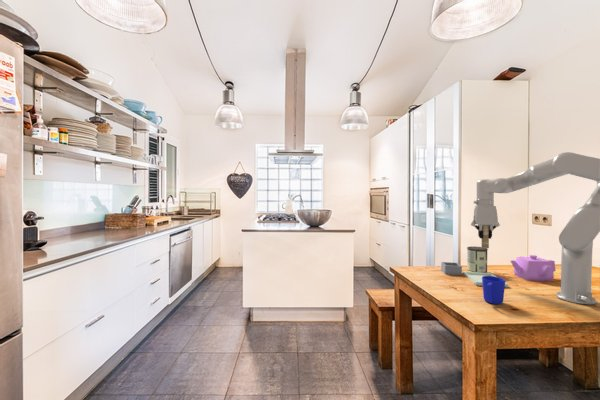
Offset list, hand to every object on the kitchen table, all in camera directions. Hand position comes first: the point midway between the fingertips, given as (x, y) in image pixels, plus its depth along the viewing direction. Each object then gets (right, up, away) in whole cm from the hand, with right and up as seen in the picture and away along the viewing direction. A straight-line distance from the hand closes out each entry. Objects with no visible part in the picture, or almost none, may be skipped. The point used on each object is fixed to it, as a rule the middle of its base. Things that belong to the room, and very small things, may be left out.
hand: (485, 237), depth 150 cm
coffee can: (+8, -23, +19) cm, 31 cm away
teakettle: (+30, -23, +7) cm, 39 cm away
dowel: (0, -5, 0) cm, 5 cm away
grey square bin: (-10, -23, +15) cm, 29 cm away
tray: (0, -23, +1) cm, 23 cm away
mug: (-16, -24, -30) cm, 41 cm away
